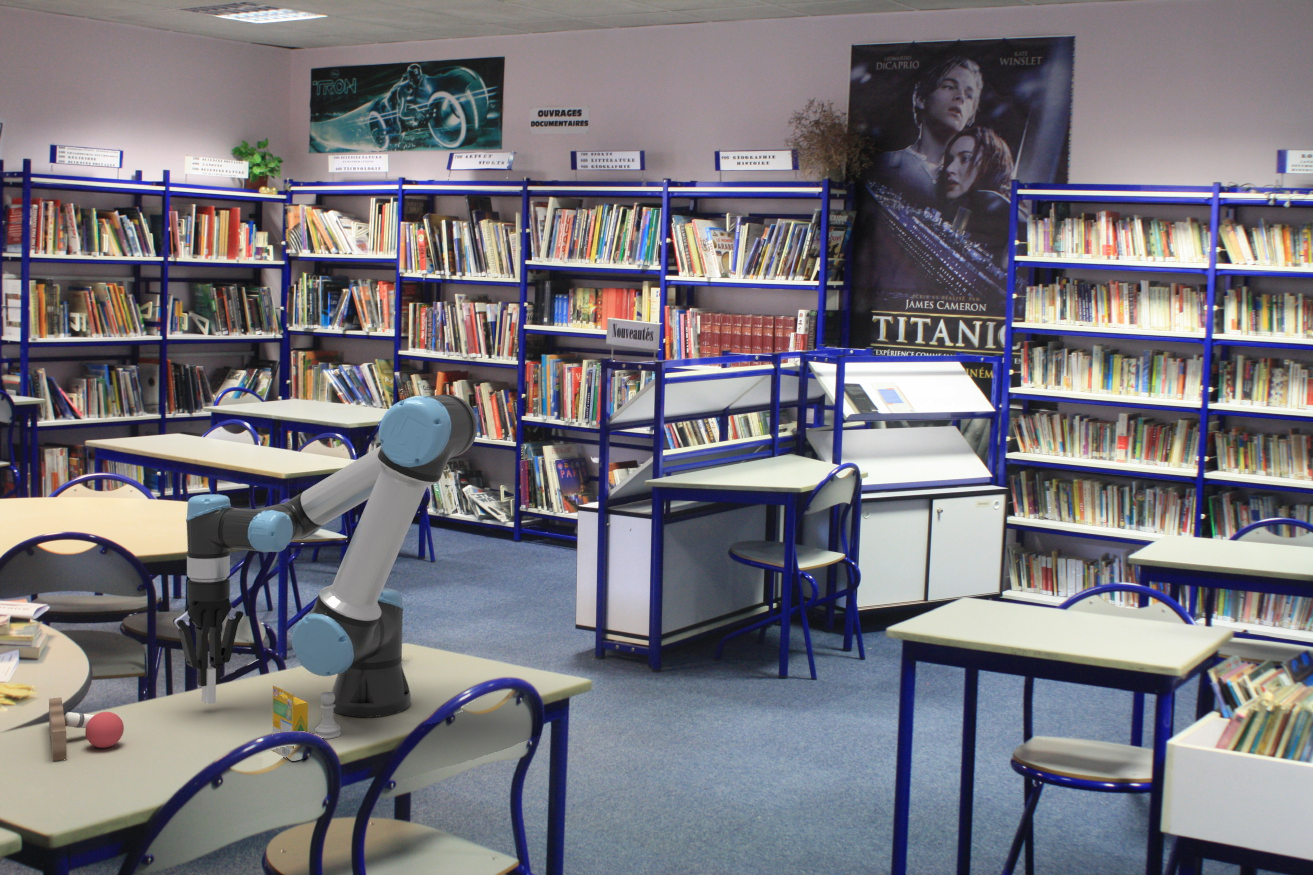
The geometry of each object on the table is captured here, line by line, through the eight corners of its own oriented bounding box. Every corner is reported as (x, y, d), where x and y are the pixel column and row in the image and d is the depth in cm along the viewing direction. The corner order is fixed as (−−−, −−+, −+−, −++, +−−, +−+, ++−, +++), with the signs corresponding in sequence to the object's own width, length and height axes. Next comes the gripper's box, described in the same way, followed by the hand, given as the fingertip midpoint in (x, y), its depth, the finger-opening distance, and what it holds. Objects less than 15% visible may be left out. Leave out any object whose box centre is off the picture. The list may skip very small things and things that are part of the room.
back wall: (66, 759, 203) (66, 730, 202) (53, 761, 202) (52, 731, 201) (61, 724, 220) (61, 697, 220) (49, 725, 219) (49, 698, 219)
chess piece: (346, 733, 220) (346, 689, 219) (331, 740, 216) (331, 696, 215) (324, 729, 222) (324, 686, 221) (308, 737, 217) (308, 693, 217)
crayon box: (308, 758, 207) (309, 691, 206) (292, 762, 204) (292, 694, 204) (287, 747, 212) (288, 681, 211) (271, 751, 210) (271, 684, 209)
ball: (127, 708, 209) (113, 739, 205) (131, 726, 214) (117, 756, 209) (91, 702, 209) (77, 733, 205) (96, 720, 213) (82, 750, 209)
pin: (122, 720, 217) (72, 714, 210) (117, 733, 217) (67, 728, 210) (116, 714, 219) (67, 709, 212) (111, 728, 218) (61, 723, 212)
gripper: (232, 570, 235) (232, 690, 237) (165, 578, 226) (165, 703, 228) (250, 576, 230) (250, 699, 232) (182, 585, 221) (183, 713, 223)
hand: (208, 701), depth 230 cm, fingers closed
